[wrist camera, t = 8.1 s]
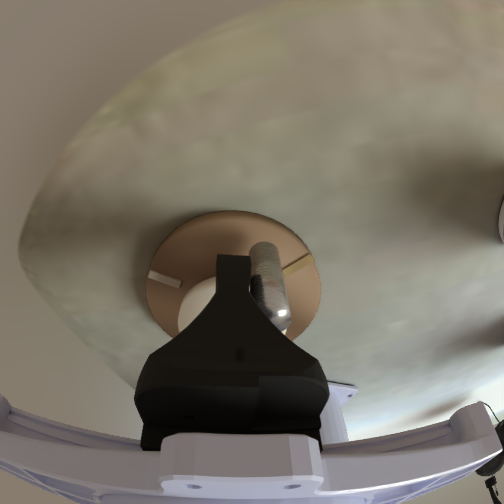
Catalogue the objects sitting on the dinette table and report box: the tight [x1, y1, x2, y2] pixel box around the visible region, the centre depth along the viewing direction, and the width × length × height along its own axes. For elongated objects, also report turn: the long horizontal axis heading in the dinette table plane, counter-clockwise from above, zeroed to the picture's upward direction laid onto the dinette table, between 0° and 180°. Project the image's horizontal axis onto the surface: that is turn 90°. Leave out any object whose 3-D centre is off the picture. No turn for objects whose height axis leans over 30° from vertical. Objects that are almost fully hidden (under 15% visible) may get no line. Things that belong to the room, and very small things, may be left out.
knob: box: [178, 241, 291, 335], centre depth 14 cm, size 8×6×4 cm
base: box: [145, 211, 321, 341], centre depth 18 cm, size 10×10×2 cm
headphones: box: [475, 403, 504, 504], centre depth 24 cm, size 15×11×20 cm
